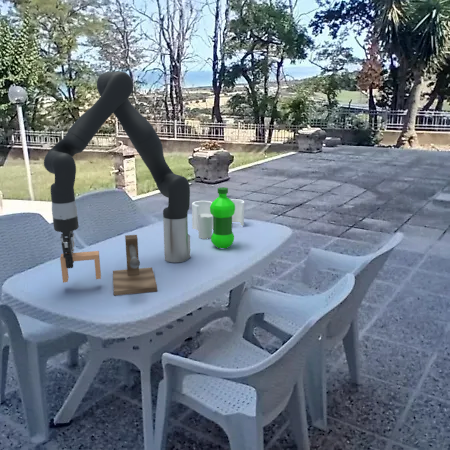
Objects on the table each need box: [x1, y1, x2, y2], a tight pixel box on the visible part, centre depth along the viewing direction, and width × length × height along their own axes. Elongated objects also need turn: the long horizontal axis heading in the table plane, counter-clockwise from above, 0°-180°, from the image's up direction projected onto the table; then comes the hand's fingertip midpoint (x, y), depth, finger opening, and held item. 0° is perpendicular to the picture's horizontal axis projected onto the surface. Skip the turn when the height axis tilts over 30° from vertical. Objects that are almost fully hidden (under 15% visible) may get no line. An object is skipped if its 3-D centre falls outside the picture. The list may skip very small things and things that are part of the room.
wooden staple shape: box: [59, 250, 102, 283], centre depth 157 cm, size 12×4×8 cm, turn 104°
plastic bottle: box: [210, 186, 235, 249], centre depth 197 cm, size 10×10×25 cm
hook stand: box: [112, 234, 158, 296], centre depth 159 cm, size 24×14×15 cm, turn 14°
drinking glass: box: [197, 214, 213, 240], centre depth 211 cm, size 7×7×10 cm
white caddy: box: [191, 198, 245, 231], centre depth 227 cm, size 25×10×12 cm, turn 105°
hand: (70, 265), depth 156 cm, fingers closed on wooden staple shape, 4 cm apart
